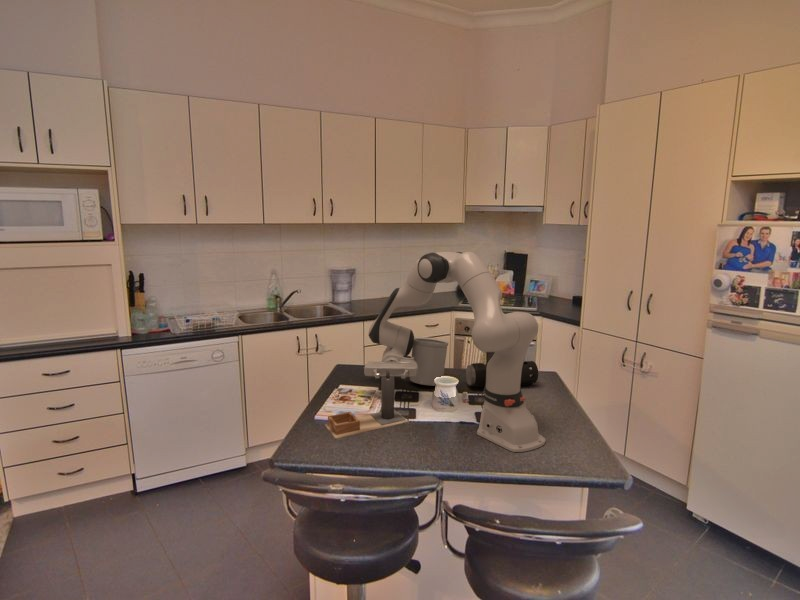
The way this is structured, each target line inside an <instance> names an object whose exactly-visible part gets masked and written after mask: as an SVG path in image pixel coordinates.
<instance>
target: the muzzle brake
mask: <svg viewBox="0 0 800 600" xmlns="http://www.w3.org/2000/svg"><path fill="white" fill-rule="evenodd" d="M487 364H488V362H487V363H483V362H475V363H474V362H473V363H471V364H469V365H467V366H466V369H465V377H466V378H465V379H466V383H467V385H468V386H473V387H475V388H479V387H480V388H481V387H482V388H483V389H484V387H485V386H486V369H487ZM538 378H539V369H538V364H537V363H536V362H535V361H534V360H527V361H526V360H524V362H523V366H522V372H521V384H520V386H526V385H527V386H528V385H530V386H531V385H533V384H535V383H537V381H538Z"/></svg>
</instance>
